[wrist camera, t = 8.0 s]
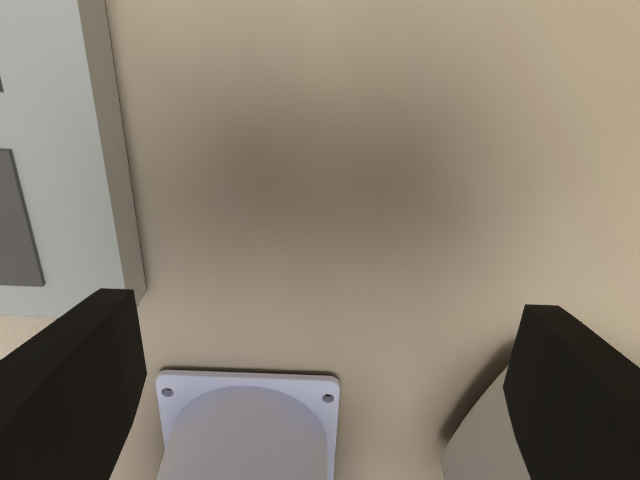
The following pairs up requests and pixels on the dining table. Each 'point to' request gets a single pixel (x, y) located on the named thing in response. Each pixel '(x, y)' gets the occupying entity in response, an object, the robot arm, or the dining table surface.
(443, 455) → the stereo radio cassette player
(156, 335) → the dining table surface
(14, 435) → the robot arm
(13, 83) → the outlet plate
